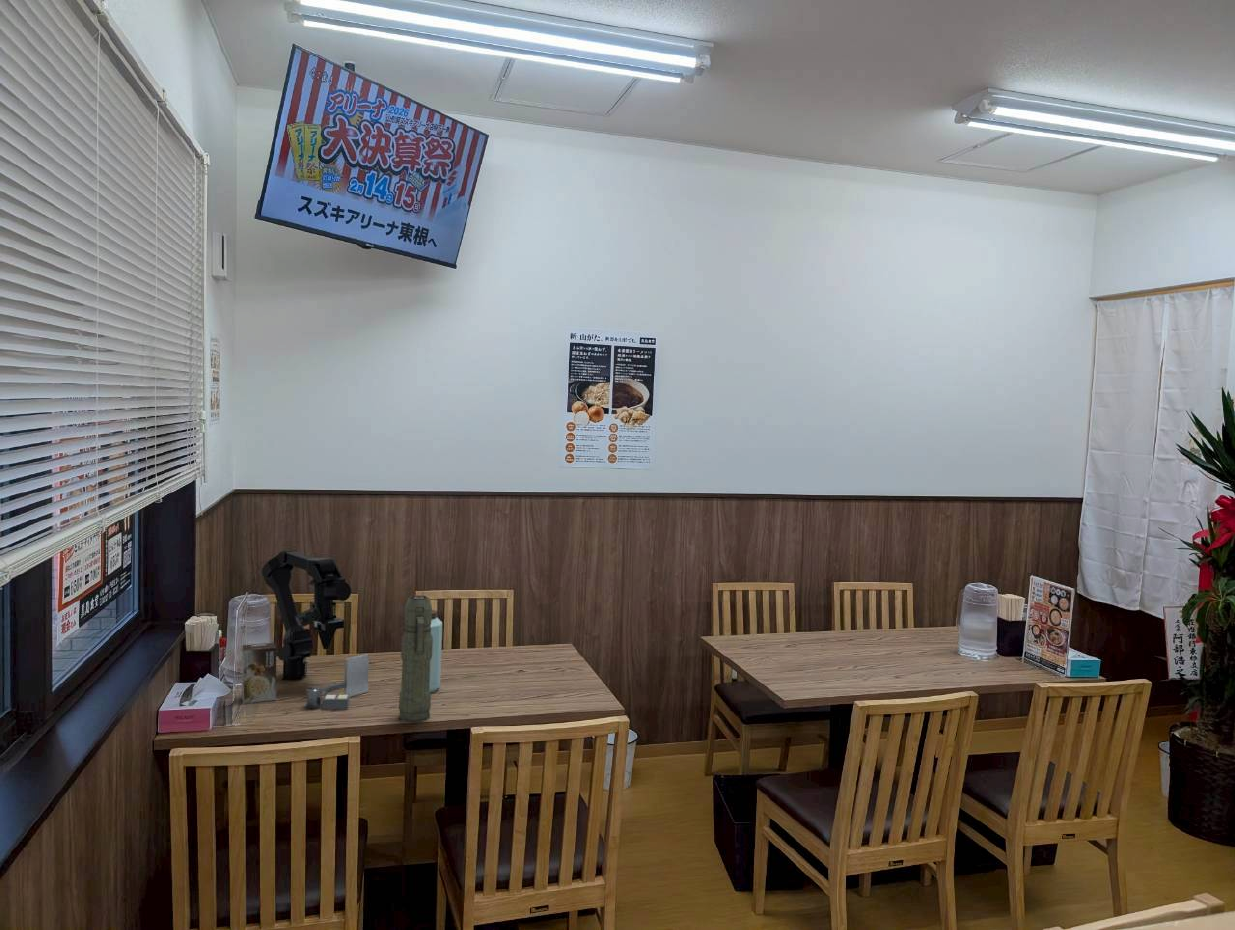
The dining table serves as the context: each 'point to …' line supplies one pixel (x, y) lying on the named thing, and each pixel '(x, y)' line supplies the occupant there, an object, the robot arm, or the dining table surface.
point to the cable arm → (352, 682)
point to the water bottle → (435, 652)
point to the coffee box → (259, 672)
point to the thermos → (416, 660)
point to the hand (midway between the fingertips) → (325, 649)
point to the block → (336, 702)
